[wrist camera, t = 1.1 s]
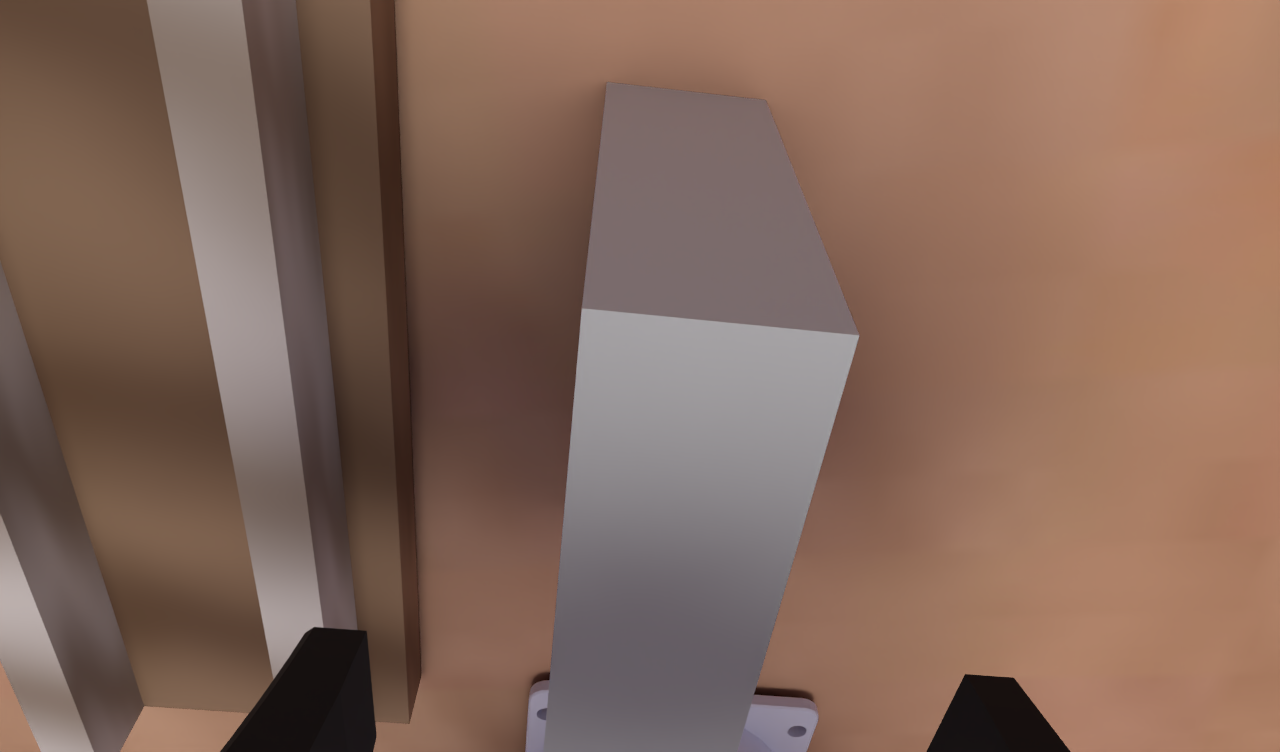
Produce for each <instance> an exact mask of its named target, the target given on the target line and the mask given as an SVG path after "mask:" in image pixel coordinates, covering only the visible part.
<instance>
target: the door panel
mask: <svg viewBox="0 0 1280 752" xmlns="http://www.w3.org/2000/svg"><path fill="white" fill-rule="evenodd" d="M858 339H859V333H858V331H857V328H856V326H855V323H854V321H853V318H852V316H851V313H850V311H849V308H848V306H847V303H846V301H845V298H844V295H843V293H842V290H841V288H840V285H839V283H838V280H837V278H836V275H835V273H834V270H833V268H832V265H831V263H830V260H829V258H828V255H827V253H826V250H825V248H824V245H823V243H822V240H821V238H820V235H819V233H818V230H817V228H816V225H815V222H814V220H813V217H812V215H811V212H810V210H809V207H808V205H807V202H806V200H805V197H804V195H803V192H802V190H801V187H800V185H799V182H798V180H797V177H796V175H795V172H794V170H793V167H792V165H791V162H790V160H789V157H788V155H787V152H786V150H785V147H784V144H783V142H782V139H781V137H780V134H779V132H778V129H777V127H776V124H775V122H774V119H773V117H772V114H771V112H770V109H769V107H768V104H767V102H766V100H761V99H752V98H743V97H734V96H726V95H717V94H708V93H699V92H690V91H682V90H673V89H664V88H655V87H646V86H638V85H629V84H620V83H611V82H607V86H606V95H605V104H604V113H603V122H602V131H601V140H600V149H599V158H598V167H597V176H596V185H595V194H594V203H593V212H592V221H591V230H590V239H589V248H588V257H587V266H586V275H585V284H584V293H583V302H582V312H581V324H580V335H579V347H578V358H577V370H576V381H575V393H574V404H573V416H572V427H571V439H570V450H569V462H568V473H567V485H566V496H565V508H564V519H563V531H562V542H561V554H560V565H559V577H558V589H557V600H556V612H555V623H554V635H553V646H552V658H551V669H550V681H549V692H548V704H547V715H546V727H545V738H544V750H543V752H737V750H738V747H739V744H740V740H741V737H742V733H743V730H744V727H745V723H746V720H747V716H748V713H749V710H750V706H751V703H752V699H753V696H754V693H755V689H756V686H757V682H758V679H759V676H760V672H761V669H762V665H763V662H764V659H765V655H766V652H767V648H768V645H769V642H770V638H771V635H772V631H773V628H774V624H775V621H776V618H777V614H778V611H779V607H780V604H781V601H782V597H783V594H784V590H785V587H786V584H787V580H788V577H789V573H790V570H791V567H792V563H793V560H794V556H795V553H796V550H797V546H798V543H799V539H800V536H801V533H802V529H803V526H804V522H805V519H806V516H807V512H808V509H809V505H810V502H811V499H812V495H813V492H814V488H815V485H816V482H817V478H818V475H819V471H820V468H821V464H822V461H823V458H824V454H825V451H826V447H827V444H828V441H829V437H830V434H831V430H832V427H833V424H834V420H835V417H836V413H837V410H838V407H839V403H840V400H841V396H842V393H843V390H844V386H845V383H846V379H847V376H848V373H849V369H850V366H851V362H852V359H853V356H854V352H855V349H856V345H857V342H858Z"/></svg>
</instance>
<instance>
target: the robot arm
mask: <svg viewBox="0 0 1280 752" xmlns="http://www.w3.org/2000/svg"><path fill="white" fill-rule="evenodd" d="M549 681H550V680H543V681H540V682H537V683H535V684H534V685H533V686H532V687H531V689H530V694H529V705H528V719H527V734H526V749H525V752H543V750H544V738H545V727H546V715H547V704H548V692H549ZM817 722H818V711H817V706H816V705H815V703H814V702H812V701H811V700H809V699H805V698H795V697H781V696H767V695H754V696H753V699H752V703H751V706H750V710H749V713H748V716H747V720H746V723H745V727H744V730H743V733H742V737H741V740H740V744H739V747H738V750H737V752H807V750H808V747H809V744H810V741H811V739H812V736H813V733H814V731H815V728H816V725H817ZM375 740H376V726H375V715H374V704H373V693H372V682H371V671H370V660H369V649H368V639H367V631H363V630H349V629H336V628H322V627H313V628H312V629H310V630H309V631H307V632H305V634H304V635H303V637H302V638H301V640H300V641H299V643H298V644H297V646H296V647H295V649H294V650H293V652H292V653H291V655H290V656H289V658H288V659H287V661H286V662H285V664H284V665H283V667H282V668H281V670H280V671H279V672H278V674H277V675H276V677H275V678H274V680H273V681H272V682H271V684H270V685H269V687H268V688H267V690H266V691H265V692H264V694H263V695H262V697H261V698H260V699H259V701H258V702H257V703H256V705H255V706H254V708H253V709H252V710H251V712H250V713H249V714H248V716H247V717H246V718H245V720H244V721H243V722H242V724H241V725H240V726H239V728H238V729H237V730H236V732H235V733H234V734H233V736H232V737H231V738H230V740H229V741H228V742H227V744H226V745H225V746H224V747H223V749H222V750H221V751H220V752H373V749H374V745H375ZM927 752H1070V750H1069V749H1068V748H1067V747H1066V745H1065V744H1064V743H1063V741H1062V740H1061V739H1060V737H1059V736H1058V735H1057V733H1056V732H1055V731H1054V730H1053V728H1052V727H1051V726H1050V724H1049V723H1048V722H1047V720H1046V719H1045V718H1044V717H1043V715H1042V714H1041V713H1040V711H1039V710H1038V709H1037V707H1036V706H1035V705H1034V704H1033V702H1032V701H1031V700H1030V698H1029V697H1028V696H1027V694H1026V693H1025V692H1024V691H1023V689H1022V688H1021V687H1020V685H1019V684H1018V683H1017V681H1016V680H1015V679H1014V678H1009V677H995V676H981V675H968V674H965V676H964V678H963V680H962V682H961V684H960V686H959V688H958V690H957V692H956V694H955V696H954V698H953V700H952V702H951V704H950V706H949V708H948V710H947V712H946V714H945V716H944V718H943V720H942V722H941V724H940V726H939V728H938V730H937V732H936V734H935V736H934V738H933V740H932V742H931V744H930V746H929V748H928V750H927Z"/></svg>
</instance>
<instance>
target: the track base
mask: <svg viewBox="0 0 1280 752" xmlns="http://www.w3.org/2000/svg"><path fill="white" fill-rule="evenodd" d="M313 627H322V628H336V629H349V630H363V631H367V639H368V649H369V660H370V671H371V682H372V693H373V704H374V715H375V722H390V723H405V724H409V723H410V719H411V715H412V711H413V707H414V703H415V699H416V695H417V691H418V687H419V683H420V678H421V657H420V632H419V607H418V582H417V557H416V532H415V507H414V483H413V458H412V433H411V408H410V383H409V358H408V333H407V308H406V283H405V258H404V234H403V209H402V184H401V159H400V134H399V109H398V84H397V59H396V34H395V10H394V0H0V661H1V663H2V666H3V668H4V670H5V672H6V675H7V677H8V679H9V681H10V683H11V686H12V688H13V690H14V692H15V695H16V697H17V699H18V701H19V704H20V706H21V708H22V710H23V712H24V715H25V717H26V719H27V721H28V724H29V726H30V728H31V730H32V732H33V735H34V737H35V739H36V741H37V744H38V746H39V748H40V750H41V752H120V750H121V748H122V747H123V745H124V743H125V741H126V739H127V737H128V735H129V733H130V732H131V730H132V728H133V726H134V724H135V722H136V720H137V719H138V717H139V715H140V713H141V711H142V709H143V707H144V706H150V707H165V708H180V709H195V710H210V711H225V712H240V713H250V712H251V710H252V709H253V708H254V706H255V705H256V703H257V702H258V701H259V699H260V698H261V697H262V695H263V694H264V692H265V691H266V690H267V688H268V687H269V685H270V684H271V682H272V681H273V680H274V678H275V677H276V675H277V674H278V672H279V671H280V670H281V668H282V667H283V665H284V664H285V662H286V661H287V659H288V658H289V656H290V655H291V653H292V652H293V650H294V649H295V647H296V646H297V644H298V643H299V641H300V640H301V638H302V637H303V635H304V634H305V632H307V631H309V630H310V629H312V628H313Z"/></svg>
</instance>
